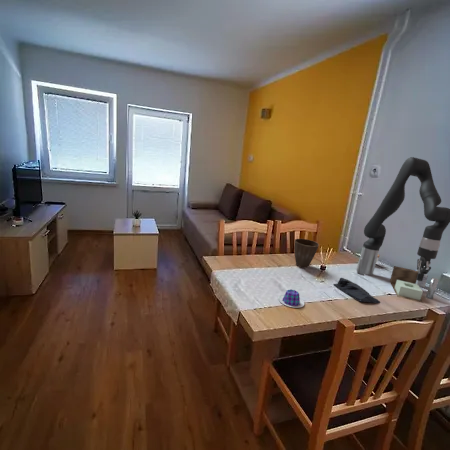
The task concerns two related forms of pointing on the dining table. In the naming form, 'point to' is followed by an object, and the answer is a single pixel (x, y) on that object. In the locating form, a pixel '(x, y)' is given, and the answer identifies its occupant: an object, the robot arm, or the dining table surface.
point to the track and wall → (404, 279)
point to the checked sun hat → (291, 299)
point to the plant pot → (304, 252)
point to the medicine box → (423, 282)
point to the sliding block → (408, 289)
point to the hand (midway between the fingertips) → (419, 280)
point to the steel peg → (432, 288)
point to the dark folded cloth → (355, 291)
